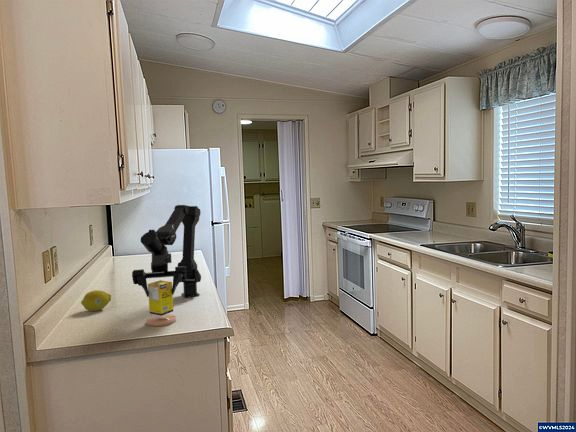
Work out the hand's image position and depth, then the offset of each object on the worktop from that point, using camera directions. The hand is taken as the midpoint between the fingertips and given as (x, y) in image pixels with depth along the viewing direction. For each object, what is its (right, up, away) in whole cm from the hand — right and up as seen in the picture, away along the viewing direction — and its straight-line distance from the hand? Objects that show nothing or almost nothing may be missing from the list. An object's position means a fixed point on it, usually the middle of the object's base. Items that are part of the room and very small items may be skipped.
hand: (160, 295), depth 148 cm
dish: (0, -10, +2) cm, 10 cm away
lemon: (-30, -10, +18) cm, 36 cm away
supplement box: (0, -7, +2) cm, 7 cm away
